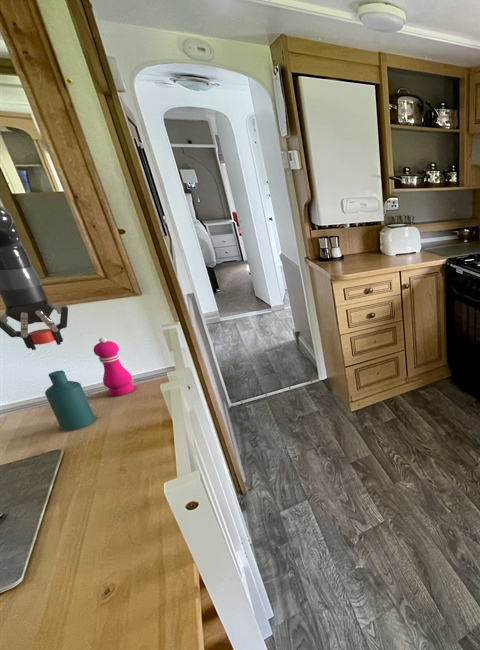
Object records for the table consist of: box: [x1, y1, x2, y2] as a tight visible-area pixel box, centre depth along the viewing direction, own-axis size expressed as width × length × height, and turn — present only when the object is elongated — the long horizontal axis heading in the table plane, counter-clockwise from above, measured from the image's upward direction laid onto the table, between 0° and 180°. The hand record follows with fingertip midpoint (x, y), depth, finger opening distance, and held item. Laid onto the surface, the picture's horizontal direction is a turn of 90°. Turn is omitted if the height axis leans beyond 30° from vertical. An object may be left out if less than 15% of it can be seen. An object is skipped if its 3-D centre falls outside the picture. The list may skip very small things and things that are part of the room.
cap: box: [28, 328, 56, 346], centre depth 101 cm, size 4×4×3 cm
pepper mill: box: [93, 337, 135, 397], centre depth 125 cm, size 7×7×20 cm
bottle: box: [44, 370, 96, 432], centre depth 108 cm, size 7×7×17 cm
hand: (46, 346), depth 102 cm, fingers closed on cap, 4 cm apart
